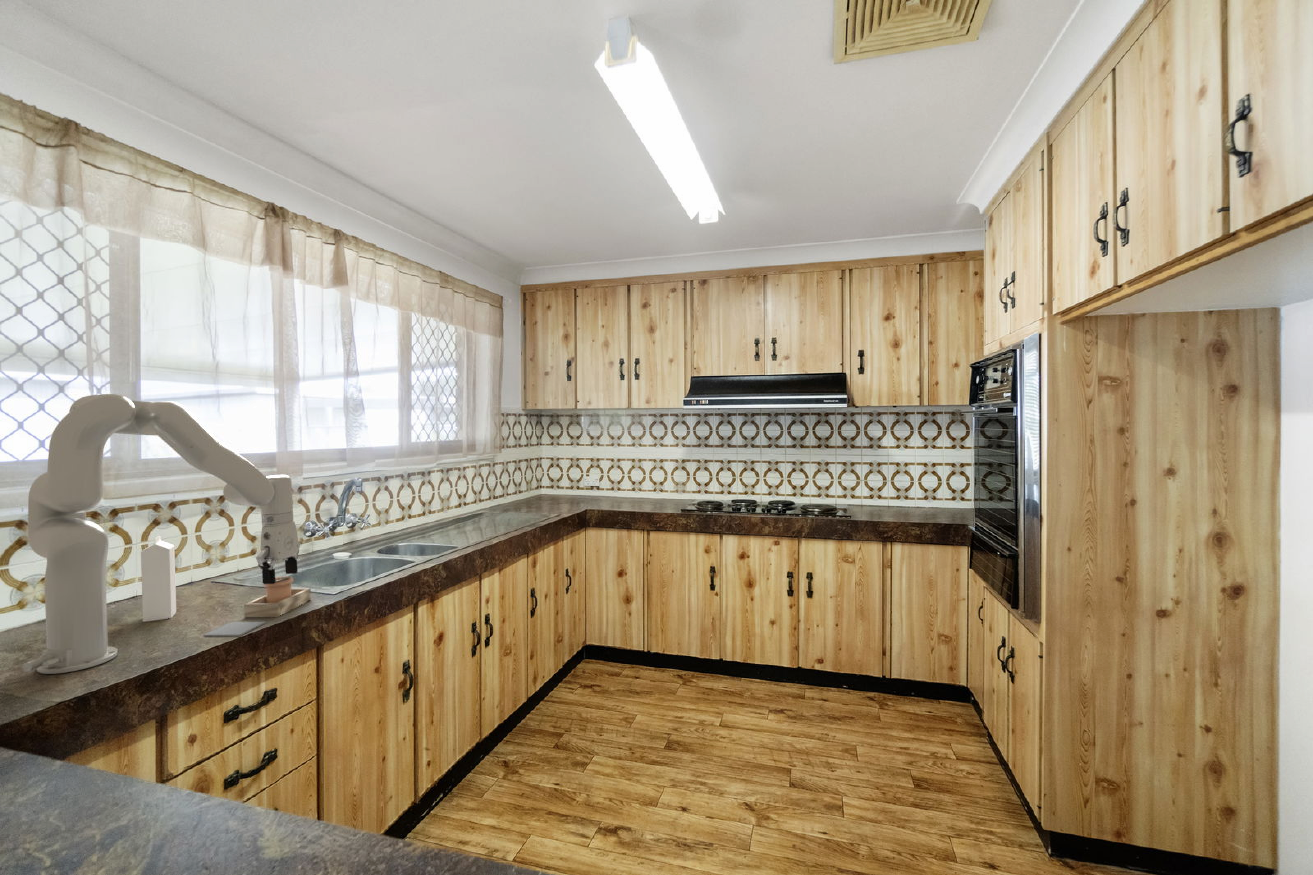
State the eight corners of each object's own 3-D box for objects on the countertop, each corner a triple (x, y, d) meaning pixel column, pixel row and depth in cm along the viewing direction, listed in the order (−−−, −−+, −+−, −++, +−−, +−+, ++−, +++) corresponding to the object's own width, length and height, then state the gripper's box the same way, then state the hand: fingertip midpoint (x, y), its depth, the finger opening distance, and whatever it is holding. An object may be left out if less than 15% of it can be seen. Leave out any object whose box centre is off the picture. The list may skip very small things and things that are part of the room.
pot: (283, 612, 161) (282, 583, 161) (258, 612, 161) (257, 583, 161) (299, 604, 168) (298, 576, 168) (275, 604, 168) (274, 576, 168)
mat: (240, 636, 143) (240, 634, 143) (203, 636, 143) (203, 634, 143) (264, 623, 152) (264, 622, 152) (230, 623, 152) (230, 622, 152)
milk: (142, 622, 154) (139, 540, 153) (148, 615, 159) (145, 536, 158) (172, 618, 157) (168, 537, 156) (177, 611, 162) (174, 533, 161)
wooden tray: (277, 617, 157) (277, 604, 157) (244, 617, 157) (244, 604, 157) (310, 600, 172) (310, 588, 172) (280, 600, 172) (280, 588, 172)
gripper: (270, 524, 155) (273, 587, 156) (309, 513, 173) (312, 569, 174) (242, 525, 155) (245, 588, 156) (284, 513, 173) (287, 570, 174)
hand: (280, 578), depth 165 cm, fingers open, 9 cm apart
